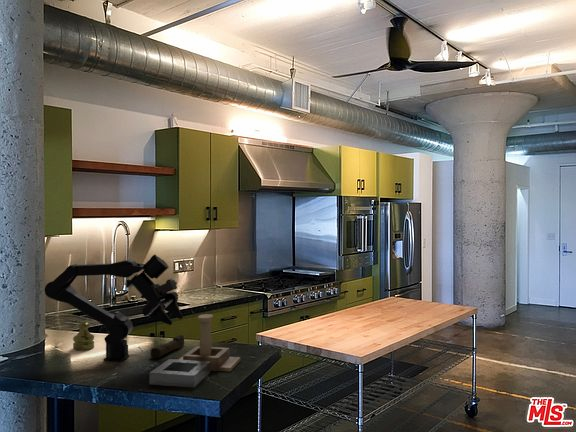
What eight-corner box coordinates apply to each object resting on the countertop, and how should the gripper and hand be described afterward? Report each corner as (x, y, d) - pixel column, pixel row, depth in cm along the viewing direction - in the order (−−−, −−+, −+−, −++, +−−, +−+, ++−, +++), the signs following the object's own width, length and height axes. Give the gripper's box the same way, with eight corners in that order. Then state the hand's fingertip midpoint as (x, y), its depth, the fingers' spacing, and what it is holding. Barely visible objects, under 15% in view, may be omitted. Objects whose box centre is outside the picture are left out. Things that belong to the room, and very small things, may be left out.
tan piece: (171, 367, 163) (171, 355, 163) (185, 357, 175) (185, 345, 175) (230, 371, 160) (230, 358, 160) (240, 360, 171) (240, 348, 171)
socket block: (149, 384, 148) (149, 372, 148) (169, 369, 161) (169, 359, 161) (194, 387, 145) (194, 375, 145) (210, 372, 159) (210, 361, 159)
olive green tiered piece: (68, 350, 184) (68, 323, 184) (81, 345, 191) (81, 319, 191) (86, 351, 182) (86, 324, 182) (98, 346, 189) (98, 320, 189)
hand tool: (159, 360, 173) (159, 346, 173) (150, 358, 174) (150, 345, 174) (190, 346, 190) (190, 334, 190) (181, 345, 192) (181, 333, 192)
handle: (214, 357, 171) (214, 314, 170) (211, 363, 164) (211, 318, 164) (200, 357, 171) (200, 314, 171) (196, 363, 164) (196, 318, 164)
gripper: (150, 275, 163) (182, 310, 161) (173, 269, 181) (202, 300, 179) (128, 298, 164) (159, 333, 163) (153, 290, 183) (181, 321, 181)
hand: (176, 321), depth 171 cm, fingers open, 9 cm apart
